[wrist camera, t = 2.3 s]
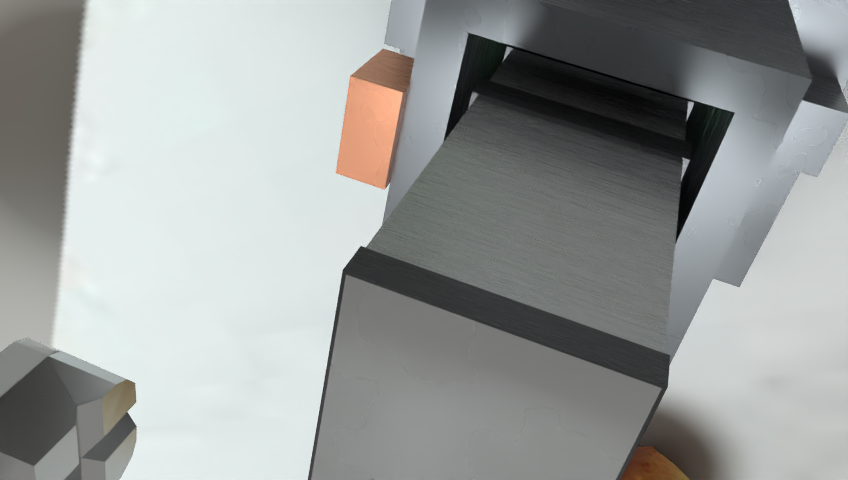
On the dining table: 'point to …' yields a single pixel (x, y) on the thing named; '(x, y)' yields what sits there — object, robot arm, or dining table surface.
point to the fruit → (651, 466)
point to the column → (514, 290)
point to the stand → (640, 63)
